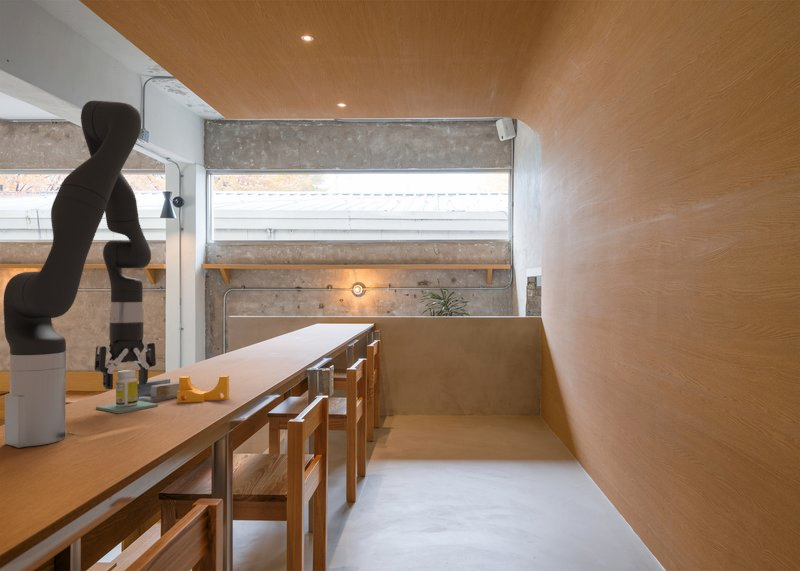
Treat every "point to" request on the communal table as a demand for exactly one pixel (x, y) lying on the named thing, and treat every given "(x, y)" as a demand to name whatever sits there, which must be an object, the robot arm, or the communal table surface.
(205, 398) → the pipe clamp
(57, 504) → the communal table surface
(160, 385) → the vise
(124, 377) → the supplement bottle
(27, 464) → the communal table surface
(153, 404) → the mat
